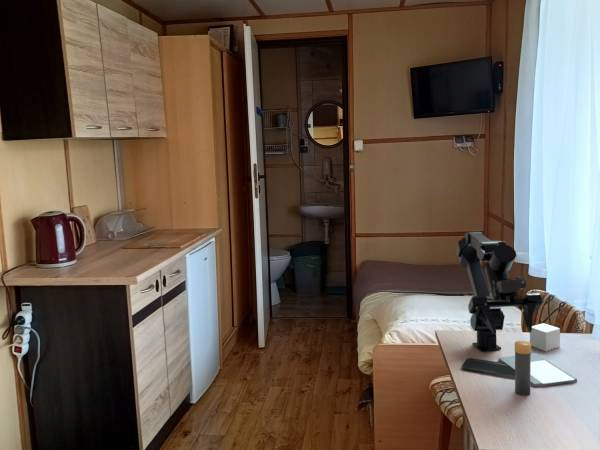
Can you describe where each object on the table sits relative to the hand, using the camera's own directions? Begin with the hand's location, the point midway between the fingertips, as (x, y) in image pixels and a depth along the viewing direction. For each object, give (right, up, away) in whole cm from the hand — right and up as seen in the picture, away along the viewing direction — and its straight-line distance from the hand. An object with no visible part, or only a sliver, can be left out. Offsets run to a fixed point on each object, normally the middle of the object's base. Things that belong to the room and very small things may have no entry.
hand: (512, 332), depth 139 cm
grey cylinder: (0, -14, -6) cm, 15 cm away
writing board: (+9, -12, +7) cm, 16 cm away
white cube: (+19, -9, +23) cm, 31 cm away
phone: (-2, -13, +9) cm, 16 cm away
